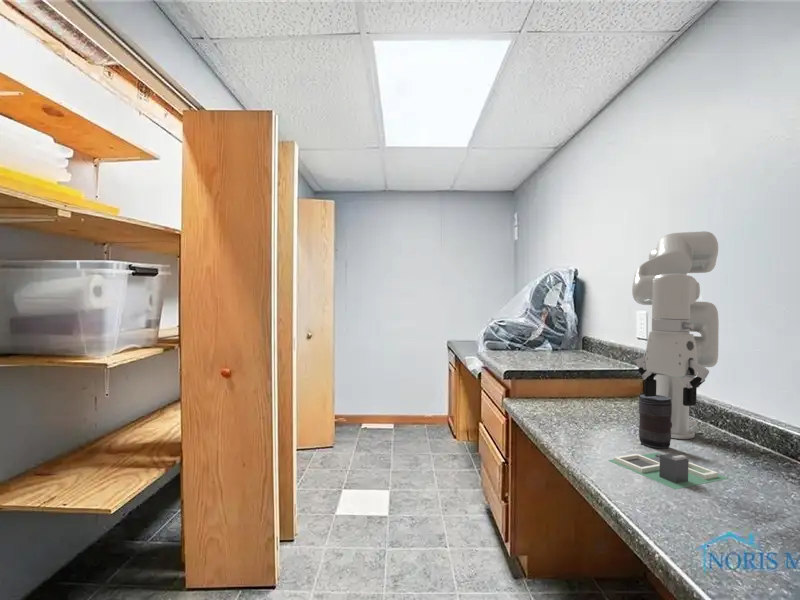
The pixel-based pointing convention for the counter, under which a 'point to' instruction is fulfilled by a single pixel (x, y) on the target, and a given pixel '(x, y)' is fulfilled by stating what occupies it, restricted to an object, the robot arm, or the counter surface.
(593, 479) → the counter surface
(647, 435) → the camera lens
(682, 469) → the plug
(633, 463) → the board
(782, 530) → the counter surface
